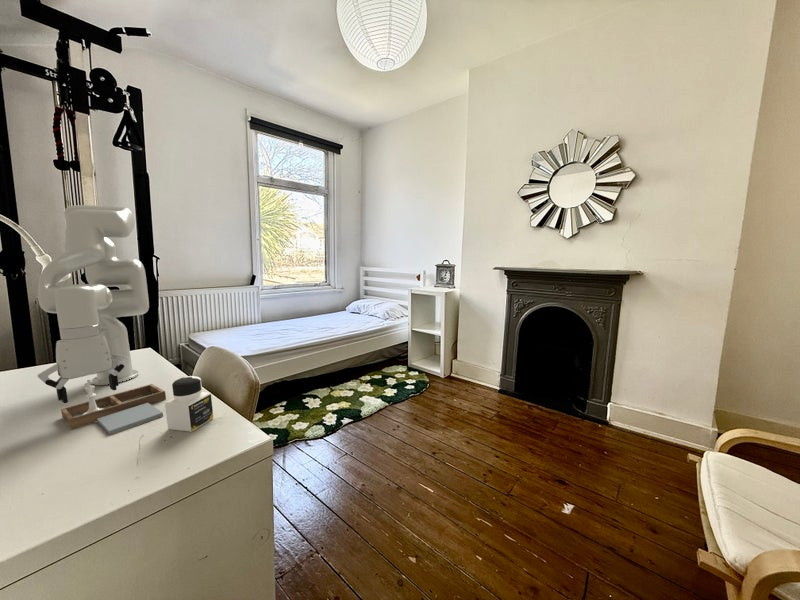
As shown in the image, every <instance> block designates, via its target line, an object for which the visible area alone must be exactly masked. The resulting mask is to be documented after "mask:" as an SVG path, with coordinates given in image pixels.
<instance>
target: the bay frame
mask: <svg viewBox="0 0 800 600" xmlns="http://www.w3.org/2000/svg"><path fill="white" fill-rule="evenodd" d="M149 392H151V393H149ZM147 393H148V394H149V395H148V394H147ZM152 393H153V394H152ZM144 394H145V395H144ZM141 395H142V397H141ZM166 395H167V393H166V391H165V390H164V389H162V388H160V387H158V386H156V385H154V384H153V383H150V384H147V385H142V386H139V387H136V388H132V389H128V390H125V391H121V392H118V393H114V394H111V395H107V396H104V397H99V398H97V399H96V398H95V403H96V405H97V408H99V409H101V410H98V411H95V412H91V413H88V414H85V415H83V414H84V413H86V412H88V410H89V400H88V401H85V402H83V403H79V404H74V405H71V406H68V407H64V408H61V409H60V412H61V418H62V419H63V421H64V423H66V425H67V426H68V427H69V428H70V429H71V430H73V429H77V428H81V427H83V426H86V425H89V424H93V423H96V422H97V418H100V417H103V416H106V415H110V414H113V413H116V412H119V411H122V410H126V409H129V408H132V407H135V406H138V405H142V404H145V403H149V404H151V405H153V404H155V402H156V403H159V402H161V400H162V401H165V400H167V398H166V397H167V396H166ZM137 397H139V398H137ZM131 399H132V400H131ZM164 399H165V400H164ZM127 400H128V401H127ZM158 401H159V402H158ZM152 403H153V404H152ZM106 406H107V407H106ZM108 406H109V407H108ZM105 407H106V408H105ZM80 414H82V415H80ZM78 415H79V416H78ZM73 416H75V417H73Z"/></svg>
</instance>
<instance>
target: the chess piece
mask: <svg viewBox="0 0 800 600" xmlns="http://www.w3.org/2000/svg"><path fill="white" fill-rule="evenodd" d="M92 383H93V381H91V379H88V380H87V381H86V382H85V383H84V386H86V387H84V390H85V392H86V393H87V395H85V398H88V401H89V410H88V411H87V412H84V413H82V415H85V414H88V413H91V412H95V411H98V410H101V409H102V408H97V405H96V403H95V400H96V398H95V397H96V396H97V394H96V393H94V392H95V388H96V387H95V386H96V385H92Z"/></svg>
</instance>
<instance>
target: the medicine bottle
mask: <svg viewBox="0 0 800 600" xmlns="http://www.w3.org/2000/svg"><path fill="white" fill-rule="evenodd" d="M171 386H172V387H171V389H172V395H173V398H171V399H169V400H167V401H165V402H164V408H165V415H166V423H167V429H168V430H172V431H181V432H188V433H189V432H190V433H192V432H194V431H195V430H197V429H199V428H200V427H201V426H203V425H205V424H206V423H209V422H210V421H211V420H212V418H213V419H214V409H213V401H212V400H213V399H212V393H211V392H207V391H205V392H204V391H203V388H202V378H201V377H199V376H196V375H195V376H193V375H189V376H184V377H180V378H178V379H176V380H174V381H173V382H172V385H171Z"/></svg>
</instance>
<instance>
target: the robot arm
mask: <svg viewBox="0 0 800 600" xmlns="http://www.w3.org/2000/svg"><path fill="white" fill-rule="evenodd" d="M63 214H64V218H65V233H64V234H65V235H64V239H65V240H64V251H63V253H61V254H59V255H57V256H56V257H55V258H54V259H52V260H51V261H50V262H49V263H47V265H46V266H45V267H44V268H43V270H42V271H41V273H40V275H39V280H38V290H37V299H38V305H39V307H40V309H42V310H43V311H44V312H46V313H49V314H56V315H57V322H58V328H59V336H60V340H59V339H58V340H57V341H56V343H55V362H56V364H54V365H52V366H50V367H48V368H47V369H45V370H43V371H41V372H39V373H38V374H37V375H36V376H37V378H38V379H39V380H40V381H42V382H43V383H44V384H45V385H47V386H49V387H52V388H54V389H55V390H56V395H57V396H56V397H57V401H61V403H63V404H67V403H68V402H69V399H68V393H67V388H66V387H65V385H66V384H67V383H68V382H69V380H73V379H78V378H83V377H86V376H90V375H95V374H96V376H95V377H94V378H92V379H90V382H91V381H93V383H91V385H93V384H94V385H93V386H108V384H109V389H110V390H112V391H117V387H119V383H118V382H120V383H123V382H126V380H127V381H129V379H130V380H132V379H134V378H136V377H138V376H139V374H138V373H139V370H137V369H133V364H132V356H131V350H130V343H129V335H128V330H127V327H126V326H125V324H124V323H123V322H122V321H120V320H119V319H118V318H121V317H132V316H133V317H134V316H142V315H144V314H146V313H147V312H148V311H149V309H150V301H149V299H150V298H149V293H148V283H147V276H146V275H147V274H146V269H145V267H144V264H143V263H142V261H140V260H138V259H136V258H134V259H133V258H118V257H117V256H118V255H117V247H116V245H115V243H114V242H113V241H112V240H111V239H110V238H119V239H121V238H123V239H124V238H128V237H129V236H130V235H131V233H132V232H133V230H134V229H135V222H136V221H135V217H134V213H132V211H131V210H130V209H129V208H128V207H125V206H108V205H107V206H105V205H91V204H89V205H88V204H77V205H76V204H74V205H70V206H68V207H66V208H65V209H64V213H63ZM82 269H84V273H85V278H86V281H87V283H86V284H85V283H83V284H79V283H78V284H77V283H75V284H60V285H58V284H59V283H60V281H62V279H63V278H65V277H67V275H70V274H72V273H74V272H77V271H80V270H82ZM126 286H127V287H130V289H129V288H127V289H126V288H125V289H109V288H108V287H126ZM53 373H57V375H58V376H59V377H58V379H57V380H56V381H55V380H53V379H51V378H49V376H50V375H51V374H53ZM137 375H138V376H137ZM131 378H132V379H131ZM122 381H123V382H122Z"/></svg>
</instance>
